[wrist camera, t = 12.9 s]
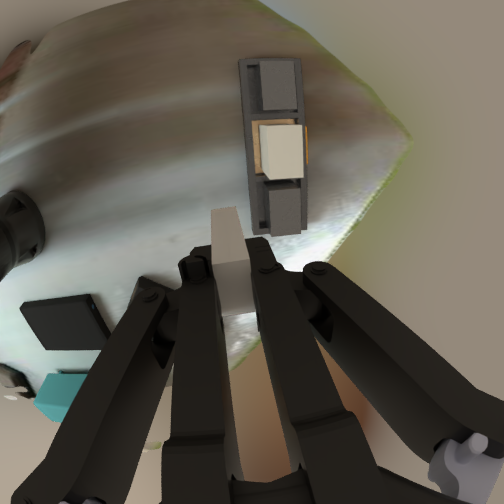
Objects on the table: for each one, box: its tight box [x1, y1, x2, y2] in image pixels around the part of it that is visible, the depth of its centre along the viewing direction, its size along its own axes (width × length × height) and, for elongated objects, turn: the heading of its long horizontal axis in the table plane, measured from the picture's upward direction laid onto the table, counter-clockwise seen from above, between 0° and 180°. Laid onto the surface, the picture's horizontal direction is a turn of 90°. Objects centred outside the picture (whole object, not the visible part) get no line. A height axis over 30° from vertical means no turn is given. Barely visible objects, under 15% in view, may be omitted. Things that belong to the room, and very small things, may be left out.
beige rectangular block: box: [259, 124, 304, 180], centre depth 36 cm, size 4×7×8 cm, turn 4°
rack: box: [238, 58, 308, 237], centre depth 38 cm, size 9×28×7 cm, turn 4°
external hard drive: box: [19, 294, 111, 350], centre depth 51 cm, size 14×23×3 cm, turn 98°
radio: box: [34, 371, 87, 423], centre depth 56 cm, size 34×10×15 cm, turn 101°
